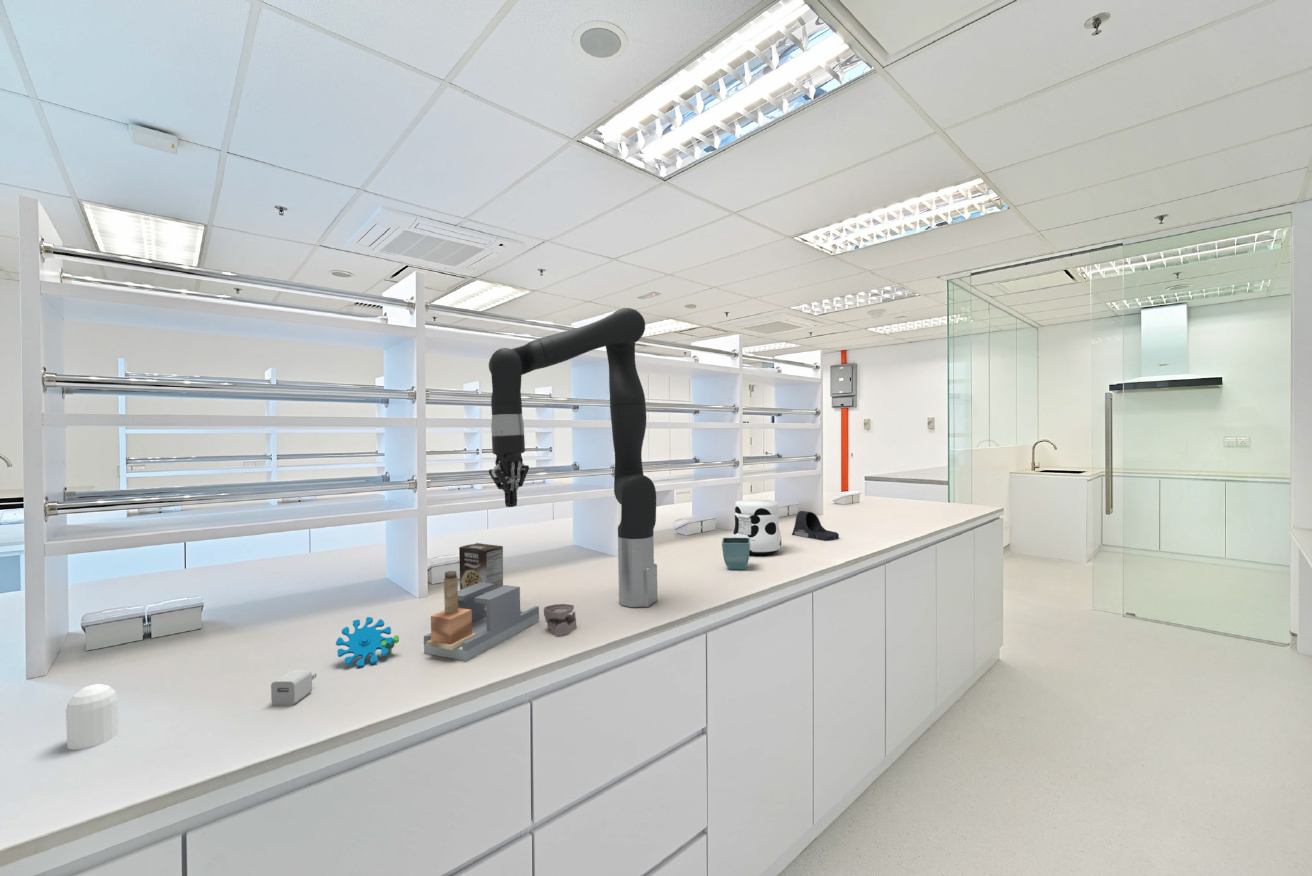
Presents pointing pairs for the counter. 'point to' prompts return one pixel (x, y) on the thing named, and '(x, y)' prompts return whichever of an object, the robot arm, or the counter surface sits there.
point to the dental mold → (560, 619)
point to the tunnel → (488, 619)
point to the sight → (812, 527)
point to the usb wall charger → (291, 687)
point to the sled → (451, 619)
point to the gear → (366, 642)
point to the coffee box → (481, 565)
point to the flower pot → (736, 552)
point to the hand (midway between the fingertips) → (511, 506)
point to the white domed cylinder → (92, 717)
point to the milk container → (758, 525)
